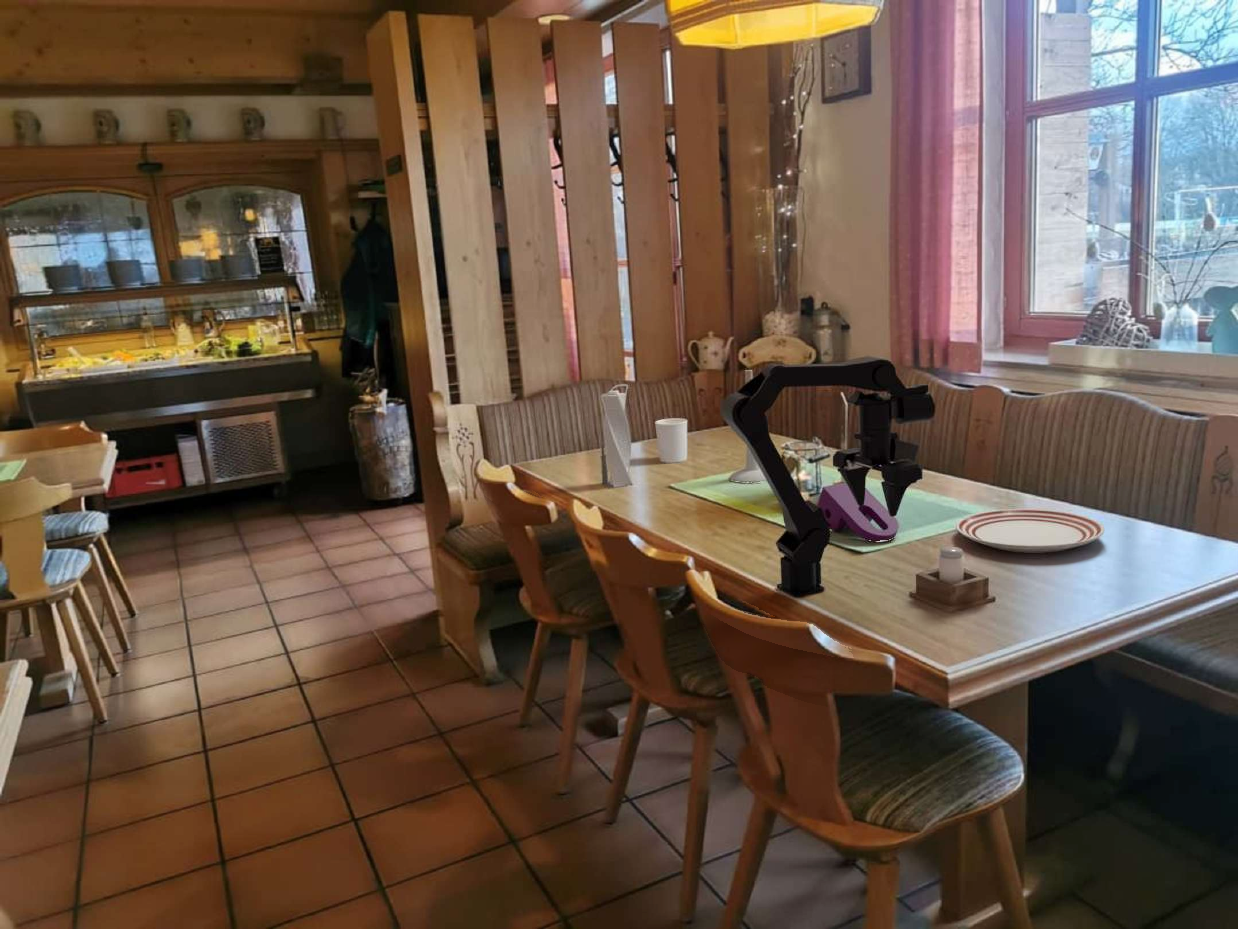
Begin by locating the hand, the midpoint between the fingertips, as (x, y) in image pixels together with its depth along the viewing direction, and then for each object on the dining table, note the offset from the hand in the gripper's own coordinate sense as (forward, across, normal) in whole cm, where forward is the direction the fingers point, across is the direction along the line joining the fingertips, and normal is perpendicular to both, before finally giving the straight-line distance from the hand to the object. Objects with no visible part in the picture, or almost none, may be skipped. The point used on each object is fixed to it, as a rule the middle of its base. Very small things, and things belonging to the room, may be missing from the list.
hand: (876, 510), depth 173 cm
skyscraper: (+14, +99, +10) cm, 100 cm away
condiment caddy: (+13, -15, -4) cm, 20 cm away
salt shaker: (+12, -15, -4) cm, 20 cm away
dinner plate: (+14, +1, -38) cm, 40 cm away
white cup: (+13, +116, -15) cm, 118 cm away
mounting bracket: (+14, +25, -15) cm, 32 cm away
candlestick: (+13, +81, -22) cm, 85 cm away
